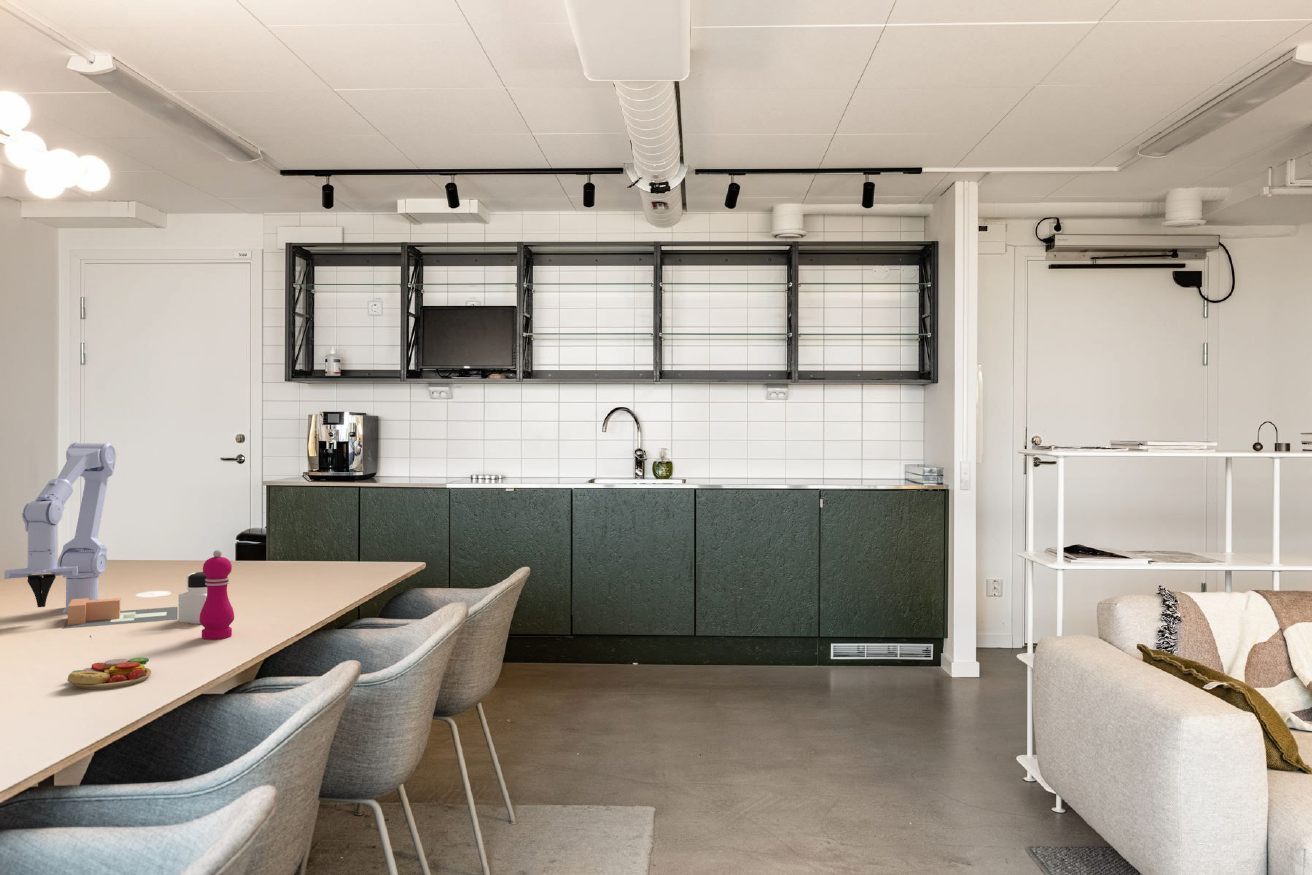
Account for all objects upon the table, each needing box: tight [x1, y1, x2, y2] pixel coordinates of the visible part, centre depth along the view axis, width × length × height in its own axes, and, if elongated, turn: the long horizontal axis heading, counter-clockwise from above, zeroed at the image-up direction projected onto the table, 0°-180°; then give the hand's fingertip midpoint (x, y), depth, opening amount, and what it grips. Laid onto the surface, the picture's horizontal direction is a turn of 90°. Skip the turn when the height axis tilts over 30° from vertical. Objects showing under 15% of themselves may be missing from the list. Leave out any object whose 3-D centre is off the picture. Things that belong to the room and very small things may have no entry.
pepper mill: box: [199, 549, 235, 641], centre depth 205 cm, size 7×7×20 cm
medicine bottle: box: [177, 571, 207, 625], centre depth 222 cm, size 7×7×12 cm
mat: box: [61, 606, 179, 630], centre depth 224 cm, size 18×24×1 cm
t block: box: [67, 597, 121, 625], centre depth 221 cm, size 10×10×4 cm
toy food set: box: [67, 657, 152, 690], centre depth 169 cm, size 13×13×3 cm
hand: (41, 606), depth 216 cm, fingers closed
